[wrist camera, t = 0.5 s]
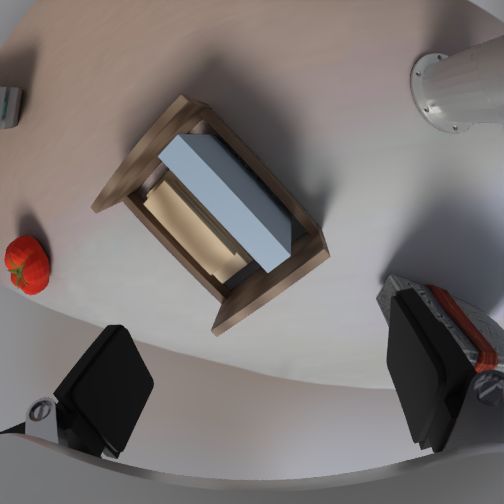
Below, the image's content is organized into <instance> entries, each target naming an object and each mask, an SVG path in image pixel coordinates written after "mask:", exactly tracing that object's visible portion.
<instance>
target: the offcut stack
mask: <svg viewBox="0 0 504 504" xmlns="http://www.w3.org/2000/svg"><path fill="white" fill-rule="evenodd" d="M146 196H147V197H148V199H147V201H146V202H145V203H144V205H145V206H146V207H147V209H148V210H149V211H150V212H151V213H152V214H153V215H154V216H155V217H156V218H157V219H158V221H159V222H160V223H161V224H162V225H163V226H164V227H165V228H166V229H167V230H168V231H169V232H170V233H171V235H172V236H173V237H174V238H175V239H176V240H177V241H178V242H179V243H180V244H181V245H182V246H183V247H184V248H185V249H186V250H187V251H188V253H189V254H190V255H191V256H192V257H193V258H194V259H195V260H196V261H197V262H198V263H199V264H200V265H201V266H202V267H203V268H204V269H205V270H206V271H207V272H208V273H209V274H210V275H212V274H213V275H214V276H215V277H216V278H217V279H218V280H219V281H220V282H221V283H222V284H223V283H224V282H225V281H226V280H228V279H229V278H230V277H232V276H233V275H234V274H235V273H237V272H238V271H239V270H241V269H242V268H243V267H244V266H246V265H247V264H248V263H250V262H251V261H252V260H253V257H252V256H251V255H250V254H249V253H248V252H247V251H246V250H245V248H244V247H243V246H242V245H241V244H240V243H239V242H238V241H237V240H236V239H235V238H234V237H233V236H232V235H231V234H230V233H229V232H228V231H227V229H226V228H225V227H224V226H223V225H222V224H221V223H220V222H219V221H218V220H217V219H216V218H215V217H214V216H213V215H212V214H211V213H210V211H209V210H208V209H207V208H206V207H205V206H204V205H203V204H202V203H201V202H200V201H199V200H198V199H197V198H196V197H195V196H194V194H193V193H192V192H191V191H190V190H189V189H188V188H187V187H186V186H185V185H184V184H183V183H182V182H181V181H180V180H179V179H178V178H177V176H176V175H175V174H174V173H173V172H172V171H171V170H169V171H168V172H167V173H166V174H165V175H164V176H163V177H162V178H161V179H160V181H159V182H158V183H157V184H156V185H155V186H154V187H153V188H152V190H151V191H150V192H149V193H148V194H147V195H146Z"/></svg>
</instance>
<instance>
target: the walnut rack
mask: <svg viewBox="0 0 504 504" xmlns="http://www.w3.org/2000/svg"><path fill="white" fill-rule="evenodd" d="M202 119H204V120H205V121H206V122H207V123H208V124H209V125H210V126H211V127H212V128H213V129H214V130H215V131H216V132H217V133H218V134H219V135H220V136H221V137H222V138H223V139H224V140H225V141H226V142H227V143H228V144H229V145H230V146H231V147H232V148H233V149H234V150H235V151H236V152H237V154H238V155H239V156H240V157H241V158H242V159H243V160H244V161H245V162H246V163H247V164H248V165H249V166H250V167H251V168H252V170H253V171H254V172H255V173H256V174H257V175H258V176H259V177H260V178H261V179H262V180H263V182H264V183H265V184H266V185H267V186H268V187H269V188H270V189H271V190H272V191H273V193H274V194H275V195H276V196H277V197H278V198H279V199H280V200H281V202H282V203H283V204H284V205H285V206H286V207H287V208H288V209H289V211H290V212H291V213H292V214H293V215H294V216H295V217H296V219H297V220H298V221H299V222H300V223H301V224H302V226H303V227H304V228H305V229H306V230H307V232H305V233H304V234H303V235H302V236H300V237H299V238H298V239H296V240H295V241H294V242H293V243H291V256H290V257H289V258H287V259H286V260H285V261H283V262H282V263H281V264H279V265H278V266H277V267H276V268H274V269H273V270H272V271H270V272H269V273H267V272H266V271H265V270H264V269H263V268H262V267H261V268H259V269H258V270H257V271H255V272H254V273H253V274H252V275H250V276H249V277H248V278H246V279H245V280H244V281H243V282H241V283H240V284H239V285H237V286H236V287H235V288H233V289H232V290H230V289H229V288H228V287H227V286H226V285H225V284H224V283H223V284H222V283H221V282H220V281H219V280H218V279H217V278H216V277H215V276H214V275H213V274H212V275H210V274H209V273H208V272H207V271H206V270H205V269H204V268H203V267H202V266H201V265H200V264H199V263H198V262H197V261H196V260H195V259H194V258H193V257H192V256H191V255H190V254H189V253H188V251H187V250H186V249H185V248H184V247H183V246H182V245H181V244H180V243H179V242H178V241H177V240H176V239H175V238H174V237H173V236H172V235H171V233H170V232H169V231H168V230H167V229H166V228H165V227H164V226H163V225H162V224H161V223H160V222H159V221H158V219H157V218H156V217H155V216H154V215H153V214H152V213H151V212H150V211H149V210H148V209H147V207H146V206H145V205H144V203H145V201H144V200H143V199H142V198H141V197H140V196H139V194H138V193H137V192H136V191H137V190H138V189H139V188H140V186H141V185H142V184H143V183H144V182H145V180H146V179H147V178H148V177H149V176H150V175H151V173H152V172H153V171H154V170H155V169H156V168H157V166H158V165H159V164H160V163H161V162H162V160H161V159H160V158H159V157H158V156H159V155H160V154H161V152H162V151H163V150H164V149H165V148H166V147H167V146H168V145H169V144H170V142H171V141H172V140H173V139H174V138H175V137H176V136H177V135H178V134H188V133H189V132H190V131H191V130H192V129H193V128H194V127H195V126H196V125H197V124H198V123H199V122H200V121H201V120H202ZM122 201H123V202H124V204H125V205H126V206H127V207H128V208H129V209H130V210H131V211H132V212H133V214H134V215H135V216H136V217H137V218H138V219H139V220H140V221H141V222H142V223H143V224H144V226H145V227H146V228H147V229H148V230H149V231H150V232H151V233H152V234H153V235H154V236H155V237H156V238H157V239H158V240H159V242H160V243H161V244H162V245H163V246H164V247H165V248H166V249H167V250H168V251H169V252H170V253H171V254H172V255H173V256H174V257H175V258H176V259H177V260H178V261H179V262H180V263H181V264H182V265H183V266H184V267H185V268H186V269H187V270H188V271H189V272H190V273H191V274H192V275H193V276H194V277H195V278H196V279H197V280H198V281H199V282H200V283H201V284H202V285H203V286H204V287H205V288H206V289H207V290H208V291H209V292H210V293H211V294H212V295H213V296H214V297H215V298H216V299H217V300H218V301H219V302H220V303H221V304H222V305H221V307H220V309H219V312H218V314H217V317H216V319H215V322H214V324H213V327H212V329H211V332H212V333H213V334H214V335H215V336H219V335H220V334H222V333H223V332H225V331H226V330H228V329H229V328H231V327H232V326H234V325H235V324H237V323H238V322H240V321H241V320H243V319H244V318H246V317H247V316H249V315H250V314H252V313H253V312H254V311H256V310H257V309H259V308H260V307H262V306H263V305H264V304H266V303H267V302H269V301H270V300H272V299H273V298H274V297H276V296H277V295H279V294H280V293H281V292H283V291H284V290H286V289H287V288H288V287H290V286H291V285H293V284H294V283H295V282H297V281H298V280H300V279H301V278H302V277H304V276H305V275H306V274H308V273H309V272H310V271H312V270H313V269H314V268H316V267H317V266H319V265H320V264H321V263H323V262H324V261H325V260H327V259H328V258H329V257H330V254H329V250H328V247H327V244H326V241H325V238H324V235H323V231H322V229H321V228H320V227H319V226H318V224H316V223H315V222H314V221H313V219H312V218H311V217H310V216H309V215H308V213H307V212H306V211H305V210H304V209H303V208H302V206H301V205H300V204H299V203H298V202H297V201H296V200H295V198H294V197H293V196H292V195H291V194H290V193H289V192H288V190H287V189H286V188H285V187H284V186H283V185H282V184H281V182H280V181H279V180H278V179H277V178H276V177H275V176H274V175H273V174H272V172H271V171H270V170H269V169H268V168H267V167H266V166H265V165H264V164H263V163H262V162H261V160H260V159H259V158H258V157H257V156H256V155H255V154H254V153H253V152H252V151H251V150H250V149H249V148H248V147H247V146H246V144H245V143H244V142H243V141H242V140H241V139H240V138H239V137H238V136H237V135H236V134H235V133H234V132H233V131H232V130H231V129H230V128H229V127H228V126H227V125H226V124H225V123H224V122H223V121H222V120H221V119H220V118H219V117H218V116H217V115H216V114H215V113H214V112H213V111H212V109H211V108H210V107H209V106H208V105H207V104H206V103H203V102H200V101H198V100H195V99H192V98H190V97H187V96H184V95H180V96H179V97H178V98H177V99H176V100H175V101H174V102H173V103H172V104H171V105H170V107H169V108H168V109H167V110H166V111H165V112H164V113H163V114H162V115H161V116H160V118H159V119H158V120H157V121H156V122H155V123H154V124H153V125H152V127H151V128H150V129H149V130H148V131H147V132H146V134H145V135H144V136H143V137H142V138H141V140H140V141H139V142H138V143H137V144H136V146H135V147H134V148H133V149H132V151H131V152H130V153H129V154H128V156H127V157H126V158H125V160H124V161H123V162H122V163H121V165H120V166H119V167H118V169H117V170H116V171H115V173H114V174H113V176H112V177H111V178H110V180H109V181H108V182H107V184H106V185H105V187H104V188H103V190H102V191H101V192H100V194H99V195H98V197H97V198H96V200H95V201H94V203H93V204H92V206H91V208H92V210H93V211H94V212H95V213H98V212H100V211H102V210H104V209H107V208H109V207H111V206H113V205H115V204H117V203H120V202H122Z"/></svg>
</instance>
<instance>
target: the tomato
mask: <svg viewBox="0 0 504 504" xmlns="http://www.w3.org/2000/svg"><path fill="white" fill-rule="evenodd" d="M4 260H5V265H6V266H7V268H8V269H9V270H8V271H9V272H11V281H12V283H13V284H14V285H15V286H17V287H19V288H21V289H22V290H23V291H24V292H25V293H26V294H29V295H35V294H37V293H39V292H41V291H42V290H44V289H45V288H46V286H47V285H48V283H49V273H50V265H49V261H48V258H47V256H46V254H45V252H44V251H43V249H42V247H41V245H40V244H39V242H38V241H37V240H36V239H34V238H33V237H31V236H28V235H24V236H21V237H19V238H17V239H15V240H14V241H13V242H11V243H10V244H9V246H8V247H7V249H6V254H5V259H4Z"/></svg>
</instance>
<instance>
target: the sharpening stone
mask: <svg viewBox="0 0 504 504" xmlns="http://www.w3.org/2000/svg"><path fill="white" fill-rule="evenodd" d="M22 91H23V90H22V89H21V88H19V87H9V88H6V87H0V129H8V128H13V127H15V126H17V124H18V116H19V109H20V103H21V97H22Z"/></svg>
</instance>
